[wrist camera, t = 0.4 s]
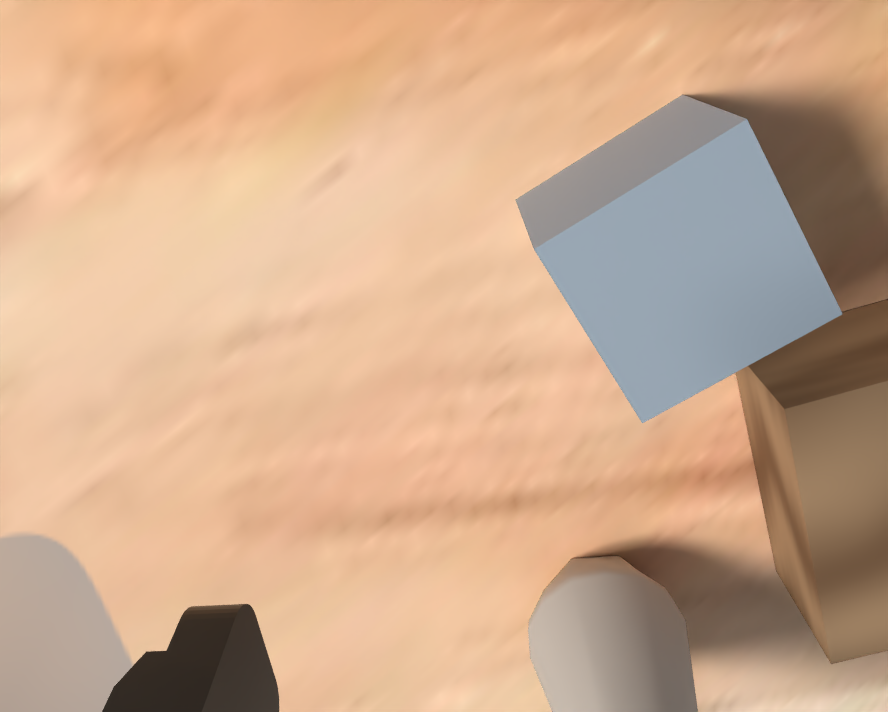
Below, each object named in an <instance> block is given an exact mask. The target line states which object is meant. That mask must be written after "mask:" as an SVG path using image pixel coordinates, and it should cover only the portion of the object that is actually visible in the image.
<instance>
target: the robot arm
mask: <svg viewBox="0 0 888 712" xmlns="http://www.w3.org/2000/svg"><path fill="white" fill-rule="evenodd" d="M102 712H279V694H278V687H277V682H276V679H275V676H274V673H273V669H272V666H271V663H270V660H269V657H268V653H267V650H266V647H265V644H264V641H263V637H262V634H261V631H260V628H259V625H258V621H257V618H256V615H255V612H254V610H253V608H252V607H251V606H250V605H248V604H238V605H215V606H193V607H189V608H188V609H187V610H186V611H185V612H184V613H183V615H182V617H181V619H180V621H179V623H178V626H177V628H176V630H175V633H174V635H173V637H172V639H171V642H170V644H169V646H168V649H167V651H153V652H146V653H145V654H144V655H143V656H142V657H141V658H140V659H139V660H138V661H137V662H136V663H135V665H134V666H133V667H132V668H131V669H130V670H129V671H128V672H127V673H126V674H125V675H124V677H123V678H122V679H121V680H120V681H119V682H118V683H117V684H116V685H115V686H114V688H113V690H112V692H111V694H110V696H109V698H108V700H107V703H106V705H105V707H104V709H103V711H102Z"/></svg>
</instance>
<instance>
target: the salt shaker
mask: <svg viewBox="0 0 888 712" xmlns="http://www.w3.org/2000/svg"><path fill="white" fill-rule="evenodd" d="M528 634H529V648H530V659H531V661H532V664H533V666H534V669H535V671H536V673H537V676H538V678H539V681H540V683H541V686H542V688H543V690H544V693H545V695H546V698H547V700H548V703H549V705H550V707H551V710H552V712H698V709H697V702H696V694H695V687H694V679H693V672H692V664H691V657H690V649H689V642H688V634H687V627H686V620H685V618H684V616H683V615H682V613H681V612H680V610H679V608H678V607H677V605H676V604H675V602H674V600H673V599H672V597H671V596H670V594H669V593H668V591H667V590H666V588H665V587H664V586H662V585H661V584H659V583H657V582H656V581H654V580H652V579H651V578H649V577H648V576H646V575H644V574H643V573H641V572H640V571H638V570H637V569H635V568H634V567H633V566H631V565H630V564H629V563H628V562H626V561H625V560H624V559H622V558H621V557H620V556H604V557H589V558H575V559H571V560H570V561H569V562H568V563H567V564H566V566H565V567H564V568H563V569H562V570H561V571H560V572H559V573H558V575H557V576H556V577H555V578H554V579H553V580H552V581H551V583H550V584H549V585H548V586H547V587H546V588H545V589H544V591H543V593H542V595H541V597H540V599H539V601H538V603H537V605H536V607H535V609H534V611H533V613H532V615H531V618H530V620H529V627H528Z"/></svg>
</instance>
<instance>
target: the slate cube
mask: <svg viewBox="0 0 888 712" xmlns="http://www.w3.org/2000/svg"><path fill="white" fill-rule="evenodd" d="M516 202H517V205H518V208H519V210H520V213H521V216H522V218H523V221H524V224H525V226H526V229H527V232H528V234H529V237H530V240H531V242H532V245H533V248H534V250H535V252H536V253H537V255H538V256H539V258H540V260H541V261H542V263H543V264H544V266H545V268H546V269H547V271H548V273H549V274H550V276H551V277H552V279H553V281H554V282H555V284H556V285H557V287H558V289H559V290H560V292H561V293H562V295H563V297H564V298H565V300H566V301H567V303H568V305H569V306H570V308H571V309H572V311H573V313H574V314H575V316H576V317H577V319H578V321H579V322H580V324H581V326H582V327H583V329H584V330H585V332H586V334H587V335H588V337H589V338H590V340H591V342H592V343H593V345H594V346H595V348H596V350H597V351H598V353H599V354H600V356H601V358H602V359H603V361H604V362H605V364H606V366H607V367H608V369H609V370H610V372H611V374H612V375H613V377H614V379H615V380H616V382H617V383H618V385H619V387H620V388H621V390H622V391H623V393H624V395H625V396H626V398H627V399H628V401H629V403H630V404H631V406H632V407H633V409H634V411H635V412H636V414H637V415H638V417H639V419H640V420H641V422H642V423H644V422H646V421H647V420H649V419H651V418H653V417H655V416H657V415H658V414H660V413H662V412H664V411H666V410H668V409H670V408H671V407H673V406H675V405H677V404H679V403H681V402H682V401H684V400H686V399H688V398H690V397H692V396H693V395H695V394H697V393H699V392H701V391H703V390H704V389H706V388H708V387H710V386H712V385H714V384H715V383H717V382H719V381H721V380H723V379H725V378H726V377H728V376H730V375H732V374H734V373H736V372H737V371H739V370H741V369H743V368H745V367H747V366H748V365H750V364H752V363H754V362H756V361H758V360H759V359H761V358H763V357H765V356H767V355H769V354H771V353H772V352H774V351H776V350H778V349H780V348H782V347H783V346H785V345H787V344H789V343H791V342H793V341H794V340H796V339H798V338H800V337H802V336H804V335H805V334H807V333H809V332H811V331H813V330H815V329H816V328H818V327H820V326H822V325H824V324H826V323H827V322H829V321H831V320H833V319H835V318H837V317H838V316H840V315H842V312H841V310H840V308H839V305H838V303H837V301H836V299H835V297H834V295H833V293H832V291H831V289H830V287H829V285H828V283H827V281H826V279H825V277H824V275H823V273H822V271H821V269H820V267H819V265H818V263H817V261H816V259H815V257H814V254H813V252H812V250H811V248H810V246H809V244H808V242H807V240H806V238H805V236H804V234H803V232H802V230H801V228H800V226H799V224H798V222H797V220H796V218H795V216H794V214H793V212H792V210H791V208H790V206H789V203H788V201H787V199H786V197H785V195H784V193H783V191H782V189H781V187H780V185H779V183H778V181H777V179H776V177H775V175H774V173H773V171H772V169H771V167H770V165H769V163H768V161H767V159H766V157H765V155H764V152H763V150H762V148H761V146H760V144H759V142H758V140H757V138H756V136H755V134H754V132H753V130H752V128H751V126H750V124H749V122H748V120H747V119H746V118H743V117H741V116H738V115H735V114H733V113H730V112H727V111H725V110H722V109H719V108H717V107H714V106H711V105H709V104H706V103H703V102H701V101H698V100H695V99H693V98H690V97H688V96H685V95H681V96H680V97H678V98H676V99H675V100H673V101H672V102H670V103H668V104H667V105H665V106H664V107H662V108H661V109H659V110H657V111H656V112H654V113H653V114H651V115H649V116H648V117H646V118H645V119H643V120H641V121H640V122H638V123H637V124H635V125H634V126H632V127H630V128H629V129H627V130H626V131H624V132H622V133H621V134H619V135H618V136H616V137H614V138H613V139H611V140H610V141H608V142H607V143H605V144H603V145H602V146H600V147H599V148H597V149H595V150H594V151H592V152H591V153H589V154H587V155H586V156H584V157H583V158H581V159H580V160H578V161H576V162H575V163H573V164H572V165H570V166H568V167H567V168H565V169H564V170H562V171H560V172H559V173H557V174H556V175H554V176H553V177H551V178H549V179H548V180H546V181H545V182H543V183H541V184H540V185H538V186H537V187H535V188H533V189H532V190H530V191H529V192H527V193H526V194H524V195H522V196H521V197H519V198H518V199H516Z"/></svg>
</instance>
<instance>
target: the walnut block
mask: <svg viewBox="0 0 888 712" xmlns="http://www.w3.org/2000/svg"><path fill="white" fill-rule="evenodd" d="M736 376H737V381H738V386H739V391H740V396H741V401H742V406H743V411H744V415H745V420H746V425H747V430H748V435H749V440H750V445H751V450H752V455H753V459H754V464H755V469H756V474H757V479H758V484H759V489H760V494H761V499H762V503H763V508H764V513H765V518H766V523H767V528H768V533H769V538H770V543H771V547H772V552H773V557H774V562H775V567H776V571H777V573H778V575H779V576H780V578H781V580H782V581H783V583H784V585H785V586H786V588H787V590H788V592H789V593H790V595H791V597H792V598H793V600H794V602H795V603H796V605H797V607H798V608H799V610H800V612H801V614H802V615H803V617H804V619H805V620H806V622H807V624H808V625H809V627H810V629H811V630H812V632H813V634H814V636H815V637H816V639H817V641H818V642H819V644H820V646H821V647H822V649H823V651H824V653H825V654H826V656H827V658H828V659H829V661H830V663H831V664H833V663H838V662H842V661H846V660H850V659H854V658H858V657H863V656H867V655H871V654H875V653H879V652H883V651H888V299H887V300H884V301H880V302H877V303H873V304H870V305H866V306H863V307H859V308H856V309H853V310H849V311H846V312H842V315H840V316H838V317H837V318H835V319H833V320H831V321H829V322H827V323H826V324H824V325H822V326H820V327H818V328H816V329H815V330H813V331H811V332H809V333H807V334H805V335H804V336H802V337H800V338H798V339H796V340H794V341H793V342H791V343H789V344H787V345H785V346H783V347H782V348H780V349H778V350H776V351H774V352H772V353H771V354H769V355H767V356H765V357H763V358H761V359H759V360H758V361H756V362H754V363H752V364H750V365H748V366H747V367H745V368H743V369H741V370H739V371H737V372H736Z"/></svg>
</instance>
